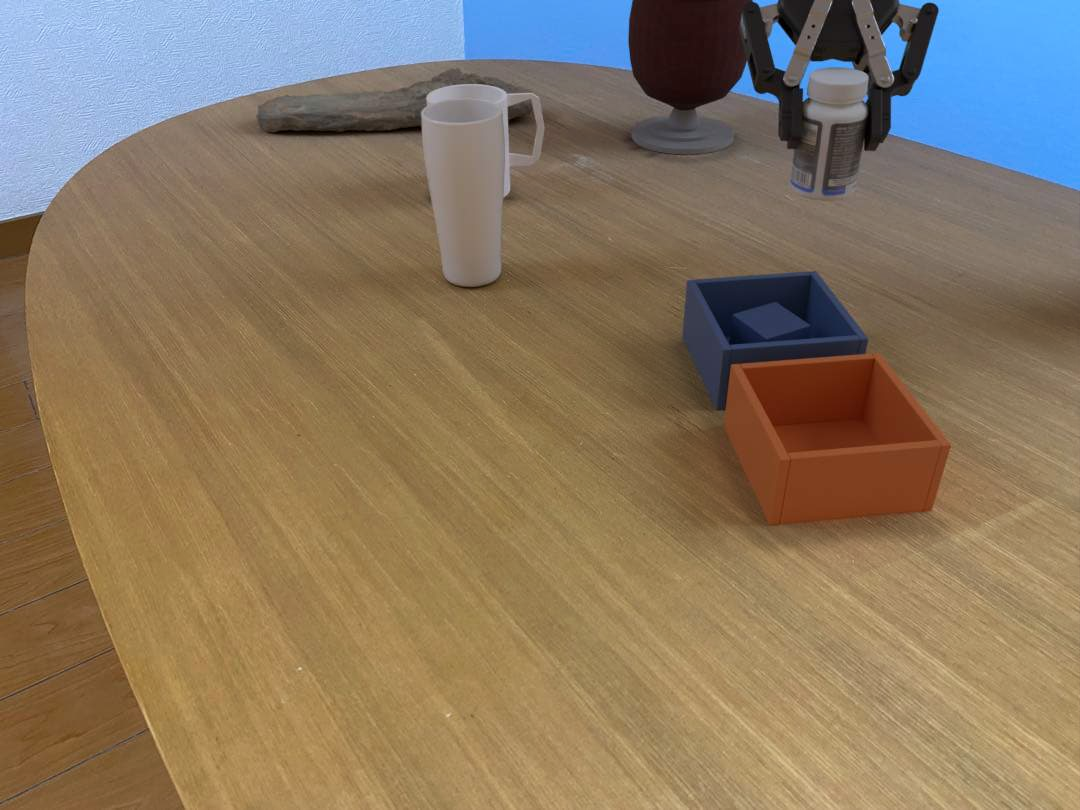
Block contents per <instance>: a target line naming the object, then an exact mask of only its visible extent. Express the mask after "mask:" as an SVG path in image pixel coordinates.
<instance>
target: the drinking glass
mask: <svg viewBox="0 0 1080 810" xmlns="http://www.w3.org/2000/svg"><path fill="white" fill-rule="evenodd" d="M420 127H421V144H422V152H423V160H424V161H423V162H424V168H425V173H426V180H427V185H428V190H429V195H430V202H431V207H432V212H433V217H434V223H435V229H436V235H437V241H438V246H439V252H440V258H441V270H442V275H443V277H444V278H445V280H446V281H448V283H450V284H453V285H455V286H457V287H463V288H477V287H483V286H486V285H489V284H491V283H493V282H495V281H496V280H498V278H499V277H500V275H501V274H502V271H503V270H502V269H503V265H502V264H503V263H502V262H503V261H502V237H503V213H504V211H503V210H504V197H503V194H504V173H505V139H504V125H503V115H502V108H501V107H500V106H499V105H498V104H496V103H494V102H491V101H488V100H483V99H474V98H458V99H449V100H443V101H439V102H436V103H433V104H430V105H428V106H427V107H425V108H424V109H423V110H422V112H421V126H420Z"/></svg>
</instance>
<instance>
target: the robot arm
mask: <svg viewBox="0 0 1080 810" xmlns="http://www.w3.org/2000/svg"><path fill="white" fill-rule="evenodd" d="M939 12H940V11H939V6H938V5H937V4H935V3H934V2H926V3H924V4H922V6H921V7H920V8H919V7H914V6H910V5H906V4H902V3H900V0H777V3H772V4H769V5H764V6H760V5H759V4H758V3H757V2H756V1H753V2H748V3H746V4H745V5H744V6H743V10H742V16H741V21H740V26H739V31H740V35H741V39H742V43H743V47H744V51H745V55H746V59H747V62H746V64H747V67H748V70H749V71H748V72H749V74H750V78H751V79H750V80H751V82H752V86H753V87H752V88H753V90H754V91H755V92H756V93H757V94H759V95H764V94H770V95H772V96H774V97H775V98H776V99H777V101H778V123H777V125H778V127H777V135H778V138H779V140H780V142H786V149H787V150H794V149H798V147H799V144H800V141H801V137H802V113H803V101H804V88H803V87H801V84H802V81H803V79H804V77H805V75H806V72H807V70H808V67H809V65H810V62H818V63H819V62H825V61H829V60H835V61H838V62H843V63H851V64H852V66H853V69H856V70H860V71H862V72H864V73H866V74H867V75H868V78H869V79H868V87H867V93H866V96H867V99H866V100H865V103H866V105H867V106H868V119H867V125H866V131H865V137H864V143H863V150H864V152H876V151H877V150H878V147H879V146H880V144H883V143H884V142H885V140H886V139H887V137H888V135H889V134H890V131H891V128H892V98H893V97H896V96H899V97H906V96H907V95H909V94H910V93H911V91H912V89H913V87H914V85H915V83H916V81H917V80H918V79H919V77H920V75H921V74H922V69H923V67H924V62H925V59H926V56H927V53H928V49H929V46H930V43H931V40H932V36H933V32H934V29H935V25H936V22H937V19H938V16H939V15H938V14H939ZM776 23H777V24H778V25H779V26H780V28H781V30H783V32H784V33H785V34H786V36H787V37H788V38H789V39H790V41H791V42H792V43H793V45H794V46H795V47H794V50H793V53H792V55H791V58H790V61H788V65H787V68H786V69H785V70H783V69H780V68H777V67H776V65H775V63H774V59H773V55H772V49H771V47H770V43H769V37H771V34H772V30H773V27H774V24H776ZM893 23H894V24H895V25H897V26H898V28H899V33H898V34H899V35H898V36H899V37H900V38H901V41H902V42H905V43H906V44H905V48H904V51H903V54H902V56H901V57H902V58H901V61H900V65H899V68H898V69H896V70H893V71H892V69H891V66H890V64H889V60H888V58H887V47H886V45H885V41H884V39H883V34H884V33H885V32H886V31H887V30H888V29H889V28H890V26H892V24H893ZM800 87H801V88H800Z"/></svg>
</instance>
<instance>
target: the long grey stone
mask: <svg viewBox="0 0 1080 810" xmlns="http://www.w3.org/2000/svg"><path fill="white" fill-rule="evenodd" d="M462 84H481V85H489V86H494V87H497V88H500V89H502V90H504V91H505V92H506V93H507V94H516V93H532V94H534V93H533V91H532V90H531V89H529V88H526V87H523V86H516V85H514V84H513V83H507V82H505V81H504V80H501V79H500V78H498V77H492V76H483V77H481V76H480V75H479V74H478V73H476V72H471V73H463V72H462V70H461V69H460V68H459V67H457V68H450V69H447V70H445V71H443V72H441V73H439V74H437V75H434V76H433V77H431V80H427V81H423V80H422V81H417V82H414V83H412V84H411V85H410V86H407V87H404V86H403V87H401V88H398V89H397V88H396V89H393V90H390V91H385V90H372V91H361V92H360V91H352V92H347V93H329V94H328V93H326V94H324V93H323V94H309V95H291V96H290V95H288V94H285V95H284V96H281V95H280V96H276V97H275V98H271V99H268V100H266V101H265V102H263V104H258V105H257V113H256V115H255V116H256V119H257V125H258V126H259V128H260V129H262V130H264V131H265V132H267V133H277V132H279V131H283V132H284V131H295V132H296V131H297V132H298V131H299V132H300V131H318V132H323V131H325V132H326V131H327V132H328V131H332V132H338V133H341V132H345V131H366V132H374V131H381V132H383V131H392V130H398V129H401V128H403V129H405V128H415V127H422V126H421V112H422V110H423V109H424V108H425V107H427V100H426V97H427V95H428V94H429V93H430V92H432V91H434V90H436V89H439V88H443V87H447V86H453V85H462ZM507 108H508V120H511V119H515V118H517V117H524V116H527V115H528V116H529V115H530V114H532V113H533V112H534V110H533V105H532V100H531V99H529V100H526V101H523V102H520V103H517V104H514V105H511V106H508V107H507Z"/></svg>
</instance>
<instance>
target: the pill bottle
mask: <svg viewBox="0 0 1080 810" xmlns="http://www.w3.org/2000/svg"><path fill="white" fill-rule="evenodd" d="M868 79H869V78H868V75H867V74H866V73H864V72H862V71H860V70H856V69H854V68H852V67H850V68H849V67H841V66H840V67H837V66H835V67H834V66H833V67H823V68H819V69H815V70H813V71H811V72H810V73H809V76H808V80H807V81H808V82H807V88H806V95H807V98H805V99H803V113H802V137H801V141H800V144H799V147H798V149H793V156H792V157H793V158H792V166H791V173H790V183H789V186H790V189H791V191H792V192H793V193H794V194H796V195H797V196H800V197H802V198H805V199H808V200H813V201H821V202H822V201H823V202H835V201H836V202H837V201H841V200H844V199H848V198H849V197H851V196H852V195H853V194H854V193H855V191H856V188H857V183H858V176H859V171H860V165H861V159H862V154H863V149H864V137H865V131H866V125H867V119H868V106H867V105H866V101H864V100H865V99H866V96H867V94H866V93H867V87H868Z"/></svg>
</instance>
